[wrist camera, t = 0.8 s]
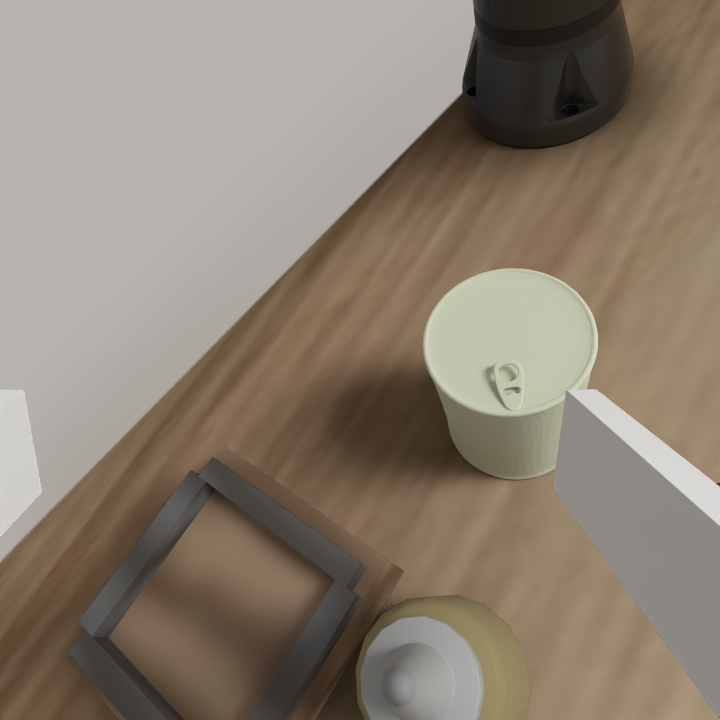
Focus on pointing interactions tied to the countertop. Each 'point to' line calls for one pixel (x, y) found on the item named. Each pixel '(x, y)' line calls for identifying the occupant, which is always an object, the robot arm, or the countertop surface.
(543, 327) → the can
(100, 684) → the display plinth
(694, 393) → the countertop surface
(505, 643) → the squeeze bottle
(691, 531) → the robot arm
